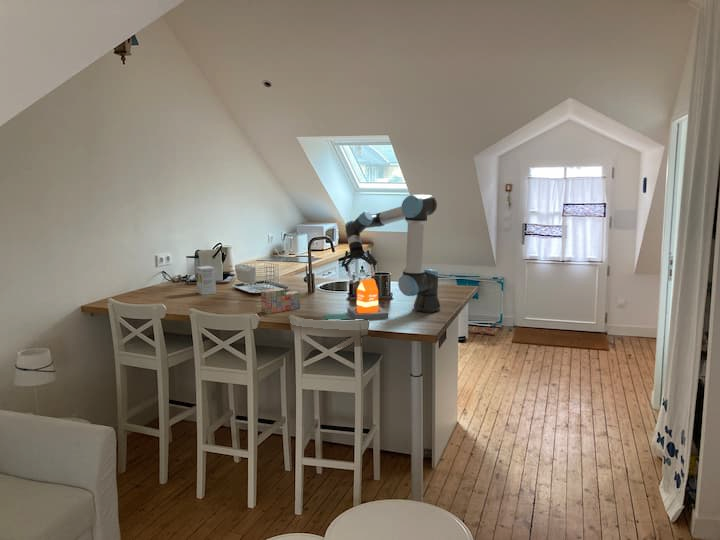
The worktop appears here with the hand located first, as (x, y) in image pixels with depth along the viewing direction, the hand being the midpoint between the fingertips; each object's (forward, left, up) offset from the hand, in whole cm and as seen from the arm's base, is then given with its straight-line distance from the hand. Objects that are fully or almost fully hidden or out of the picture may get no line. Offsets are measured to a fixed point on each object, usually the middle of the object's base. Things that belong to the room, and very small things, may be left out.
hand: (361, 275), depth 329 cm
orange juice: (0, +11, -20) cm, 23 cm away
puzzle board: (0, +11, -20) cm, 23 cm away
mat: (+17, +11, -20) cm, 29 cm away
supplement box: (+84, -73, -20) cm, 113 cm away
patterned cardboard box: (+43, -14, -20) cm, 50 cm away
